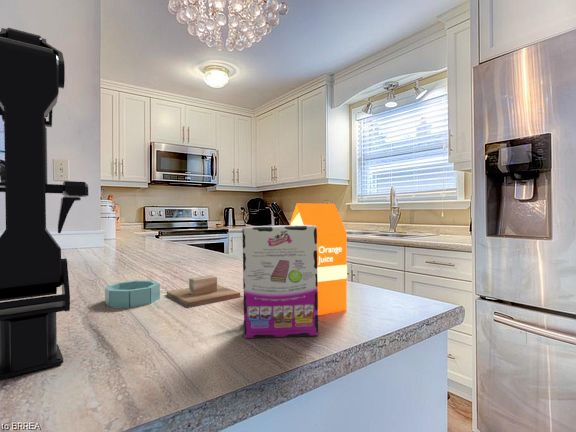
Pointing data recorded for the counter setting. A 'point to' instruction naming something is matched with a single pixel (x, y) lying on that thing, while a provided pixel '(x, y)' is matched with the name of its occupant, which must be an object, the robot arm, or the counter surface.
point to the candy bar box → (280, 281)
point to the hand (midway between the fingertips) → (29, 234)
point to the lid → (202, 292)
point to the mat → (197, 305)
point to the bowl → (132, 293)
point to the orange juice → (327, 254)
